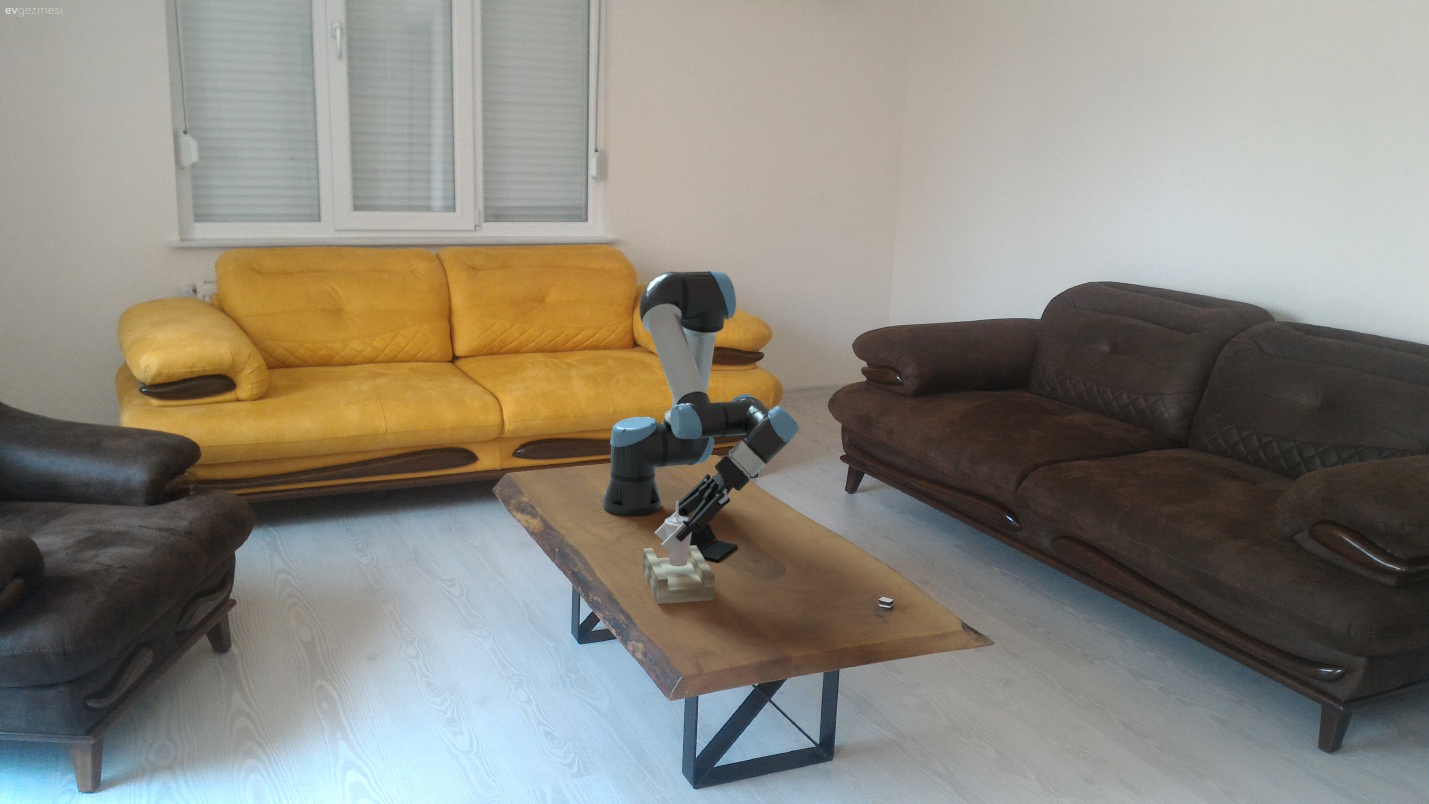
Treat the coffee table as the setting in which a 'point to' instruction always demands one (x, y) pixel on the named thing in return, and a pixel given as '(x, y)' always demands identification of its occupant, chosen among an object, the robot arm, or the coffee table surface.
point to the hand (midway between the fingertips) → (662, 542)
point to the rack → (679, 578)
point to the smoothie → (681, 552)
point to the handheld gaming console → (711, 545)
